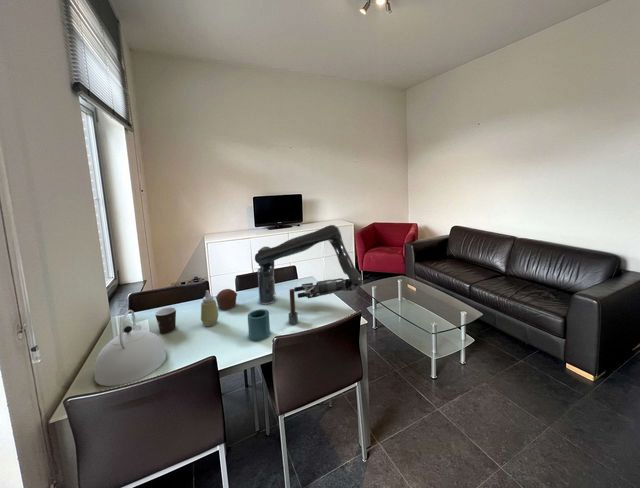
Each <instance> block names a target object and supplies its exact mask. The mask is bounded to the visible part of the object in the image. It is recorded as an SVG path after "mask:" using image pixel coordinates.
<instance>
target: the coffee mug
mask: <svg viewBox="0 0 640 488" xmlns="http://www.w3.org/2000/svg"><path fill="white" fill-rule="evenodd" d="M154 315H155V318H156V323H157V326H158V329H159V333H160V334H163V335H165V334H169V333H172V332H174V331H175V330H176V322H177V321H176V320H177V319H176V318H177V308H176V307H172V306H169V307H168V306H167V307H164V308H160V309H159V310H156V311H155V312H154Z"/></svg>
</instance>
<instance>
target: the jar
mask: <svg viewBox="0 0 640 488" xmlns="http://www.w3.org/2000/svg"><path fill="white" fill-rule="evenodd" d="M247 326H248V327H247V329H248V339H249V340H250V341H252V342H259V341H264V340H266V339H268V338H269V337H270V336H271V323H270V312H269V310H268V309H263V308H260V309H254V310H251V311H250V312H248V314H247Z"/></svg>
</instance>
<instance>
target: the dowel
mask: <svg viewBox="0 0 640 488" xmlns="http://www.w3.org/2000/svg"><path fill="white" fill-rule="evenodd" d="M288 291H289V310H290V312H289V313H288V324H289V325H290V326H295V325H297V324H299V313H298V312H297V311H296V301H295V300H296V297H295V296H296V295H295V291H294V288H290V289H289V290H288Z"/></svg>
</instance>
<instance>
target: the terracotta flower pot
mask: <svg viewBox="0 0 640 488" xmlns="http://www.w3.org/2000/svg"><path fill="white" fill-rule="evenodd" d="M237 296H238V292H236V291H235V290H233V289H231V288H225V289H221V290H220V291H219V292H218V293H217V294H216V296H215V299H216V300H215V301H216V305H217V308H218V310H221V311H228V310H232V309H234V308H235V307H236V304H237Z"/></svg>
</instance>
